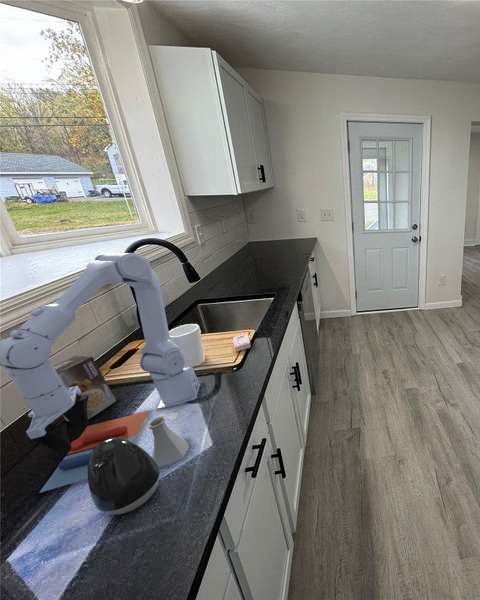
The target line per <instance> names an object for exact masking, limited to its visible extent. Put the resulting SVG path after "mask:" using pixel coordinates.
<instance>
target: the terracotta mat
mask: <svg viewBox="0 0 480 600" xmlns="http://www.w3.org/2000/svg"><path fill="white" fill-rule="evenodd" d="M149 412H150V410H145V411H141V412H136V413H134V414H129V415H127V416H122V417H117V418H114V419H111V420H110V419H109V420H106V421H102V422H99V423H94V424H91V425H88V426H87V427H85V428H84V431H83V432H82V433H81V434H80V436H79V437H78V438H81V437H84V436H85V435H88V434H92V433H95V432H99V431H103V430H107V429H110V428H114V427H118V426H122V425H124V426H126V427H127V431H126V433H124V434H122V435H118V436H114V437H111V438H115V437H118V438H124V439H130V438H134V437H136V436H138V433H139V432H140V430H141V428H142V426H143V424H144V422H145V420H146V418H147V416H148V414H149ZM107 439H110V438H107ZM107 439H103V440H100V441H96V442H92V443H89V444H87V445H86V446H84V447H83V448H81V449H78V450H76V451H69V452H67V454H66V456H69V455H73V454H76V453H80V452H83V451H87V450H91V449H94V448H95V447H96V446H97V445H98V444H99V443H101V442H103V441H104V440H107Z"/></svg>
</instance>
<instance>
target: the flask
mask: <svg viewBox="0 0 480 600" xmlns="http://www.w3.org/2000/svg"><path fill="white" fill-rule="evenodd" d="M147 427H148V428H149V430H151V431H152V435H153V450H152V458H153V460H154V461H155V462H156V463H157V465H158V467H159V468H160V467H164V466H170V465H171V464H173V463H175V462H177V461H178V460H181V459H182V458H184V456H185V455H186V453H187V451H188V449H190V446H189V444H188V442H187V440H186V439H184V438H183V437H182V436H179V435H178V434H177V433H175V432H174V431H173V430H172V429H170V427H169V426H168V425H167V424H166V418H165V416H157V417H156V418H153V419H151V420H150V421H149V423H147Z"/></svg>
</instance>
